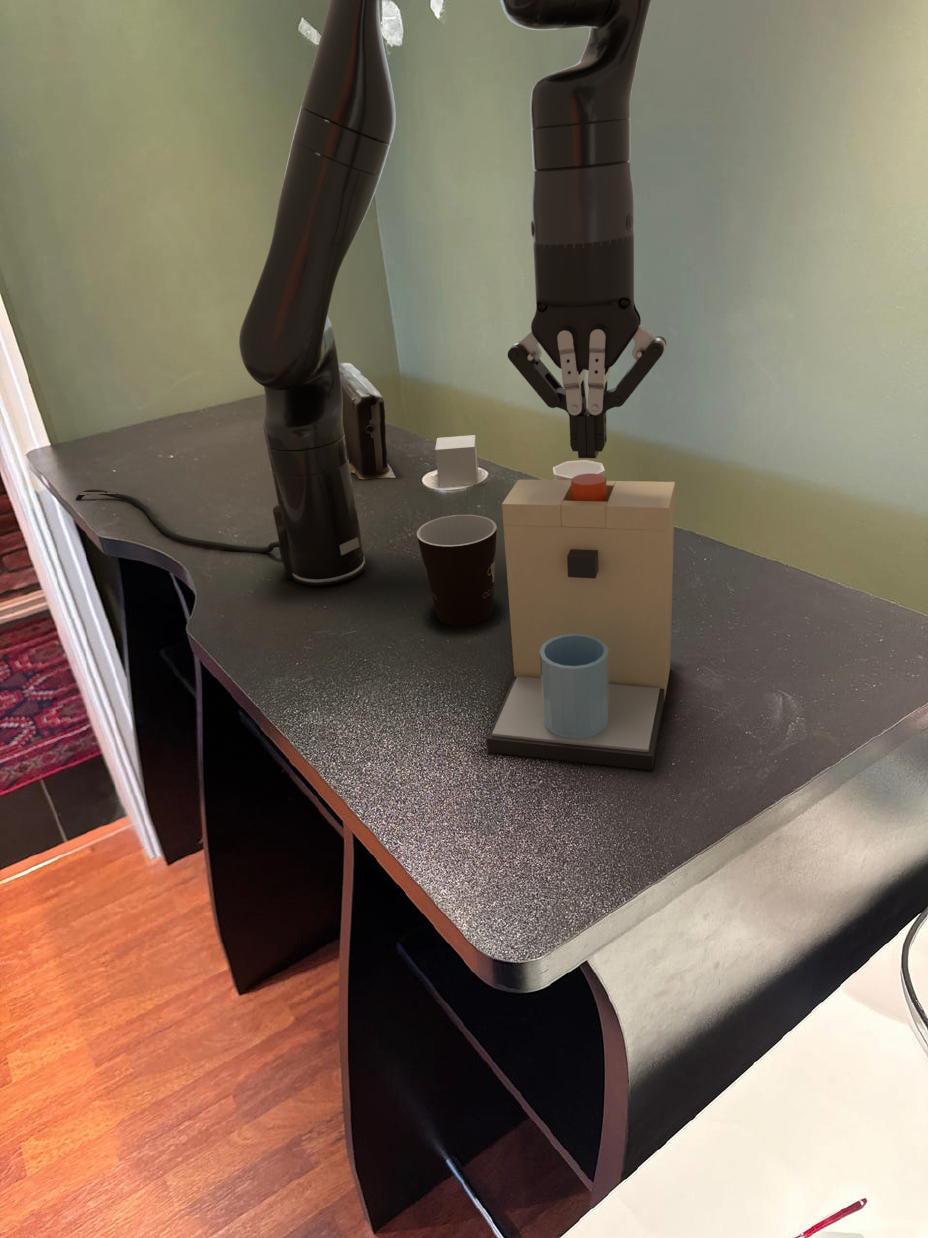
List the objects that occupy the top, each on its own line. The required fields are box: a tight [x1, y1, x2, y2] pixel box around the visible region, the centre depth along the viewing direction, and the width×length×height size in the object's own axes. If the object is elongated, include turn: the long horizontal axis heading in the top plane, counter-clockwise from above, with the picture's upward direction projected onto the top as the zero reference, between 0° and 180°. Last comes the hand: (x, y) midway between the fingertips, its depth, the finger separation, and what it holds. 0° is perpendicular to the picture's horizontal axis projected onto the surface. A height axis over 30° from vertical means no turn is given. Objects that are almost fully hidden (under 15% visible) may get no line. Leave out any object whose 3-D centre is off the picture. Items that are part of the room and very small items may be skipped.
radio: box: [338, 362, 396, 480], centre depth 148 cm, size 23×9×15 cm, turn 12°
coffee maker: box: [486, 479, 676, 771], centre depth 76 cm, size 14×16×19 cm
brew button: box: [571, 474, 607, 502], centre depth 76 cm, size 3×3×2 cm
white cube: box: [434, 434, 479, 488], centre depth 137 cm, size 6×6×6 cm
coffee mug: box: [416, 514, 498, 627], centre depth 98 cm, size 12×9×10 cm
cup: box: [552, 459, 606, 480], centre depth 116 cm, size 7×10×8 cm
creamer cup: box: [539, 633, 609, 739], centre depth 75 cm, size 6×6×7 cm
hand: (588, 455), depth 75 cm, fingers closed
